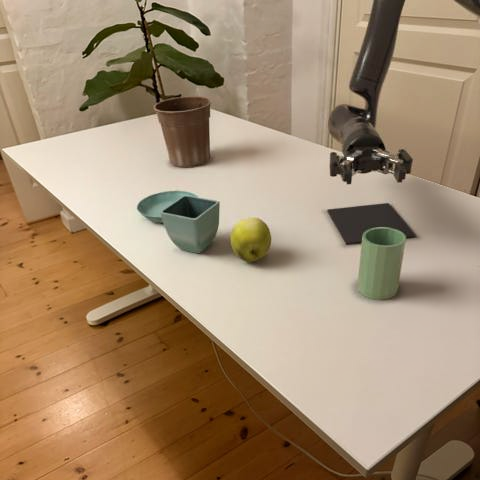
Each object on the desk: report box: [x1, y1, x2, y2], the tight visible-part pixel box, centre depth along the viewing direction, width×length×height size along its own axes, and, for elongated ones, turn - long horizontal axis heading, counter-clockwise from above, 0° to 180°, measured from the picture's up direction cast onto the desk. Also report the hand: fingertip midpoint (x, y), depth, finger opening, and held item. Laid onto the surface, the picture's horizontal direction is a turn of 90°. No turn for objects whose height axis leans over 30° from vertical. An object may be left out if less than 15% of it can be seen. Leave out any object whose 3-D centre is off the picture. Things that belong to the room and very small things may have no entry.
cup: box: [356, 227, 407, 301], centre depth 76 cm, size 7×7×10 cm
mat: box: [326, 202, 416, 246], centre depth 98 cm, size 14×16×1 cm
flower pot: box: [160, 195, 221, 254], centre depth 93 cm, size 9×9×9 cm
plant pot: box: [153, 95, 212, 168], centre depth 134 cm, size 16×16×16 cm
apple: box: [230, 217, 272, 263], centre depth 88 cm, size 8×9×8 cm
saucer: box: [136, 190, 199, 224], centre depth 109 cm, size 15×15×3 cm
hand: (375, 178), depth 79 cm, fingers open, 8 cm apart
